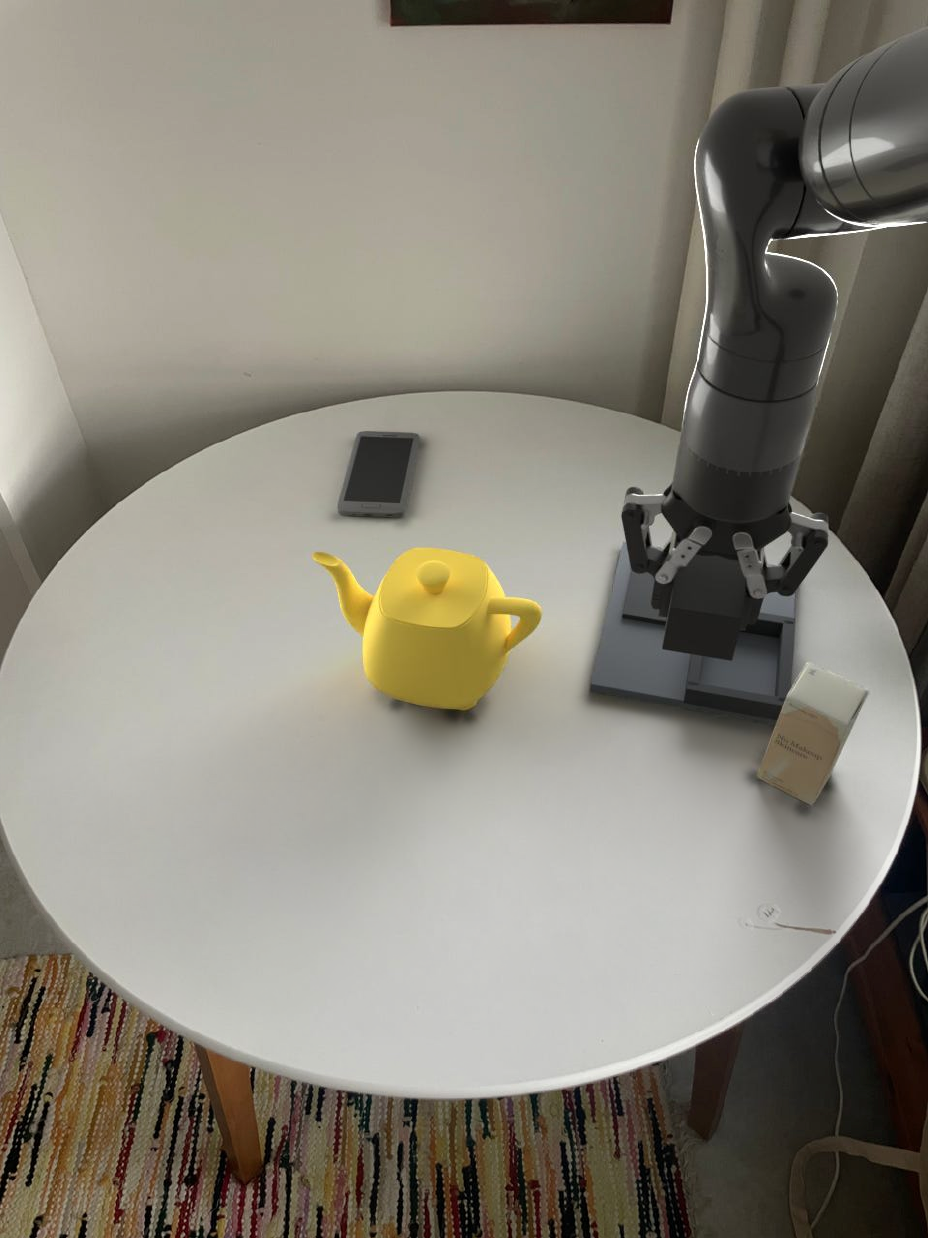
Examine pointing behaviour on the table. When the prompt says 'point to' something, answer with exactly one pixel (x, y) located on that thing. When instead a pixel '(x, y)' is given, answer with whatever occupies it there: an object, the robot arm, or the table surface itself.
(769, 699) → the base pad
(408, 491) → the cell phone
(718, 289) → the robot arm
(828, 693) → the box
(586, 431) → the table surface
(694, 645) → the black block
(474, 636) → the teapot
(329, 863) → the table surface
